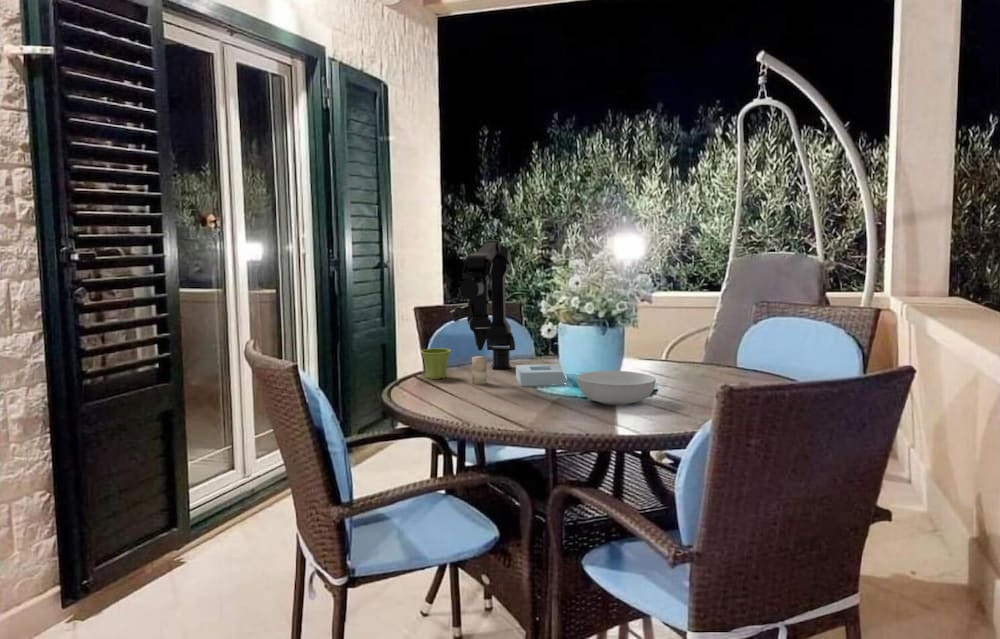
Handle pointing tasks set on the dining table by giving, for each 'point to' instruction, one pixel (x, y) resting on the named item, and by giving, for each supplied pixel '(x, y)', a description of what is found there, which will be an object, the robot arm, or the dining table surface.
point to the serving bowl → (616, 386)
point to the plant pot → (436, 362)
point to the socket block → (540, 374)
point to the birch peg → (479, 370)
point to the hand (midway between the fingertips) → (479, 347)
